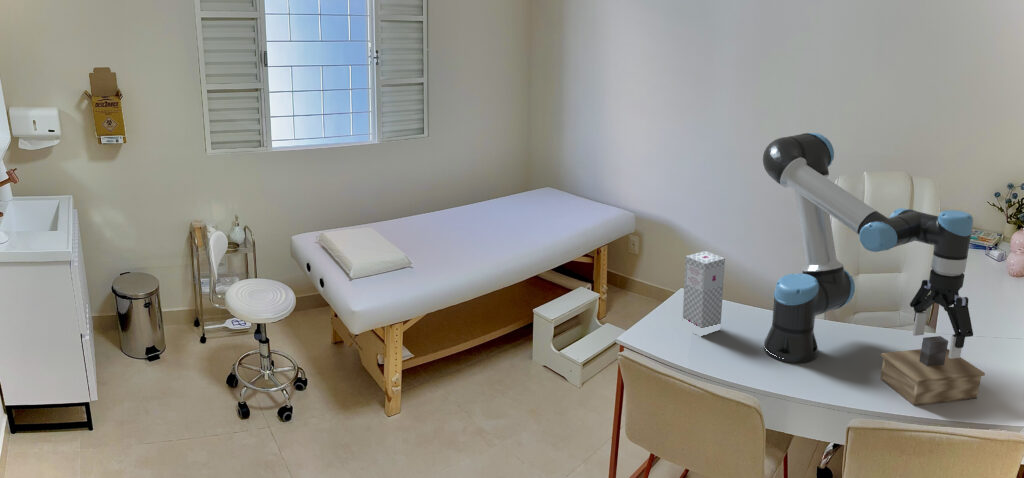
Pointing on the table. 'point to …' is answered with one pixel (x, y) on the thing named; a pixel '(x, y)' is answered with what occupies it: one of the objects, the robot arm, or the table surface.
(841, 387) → the table surface
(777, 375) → the table surface
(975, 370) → the lid
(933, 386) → the wooden box
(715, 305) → the box
